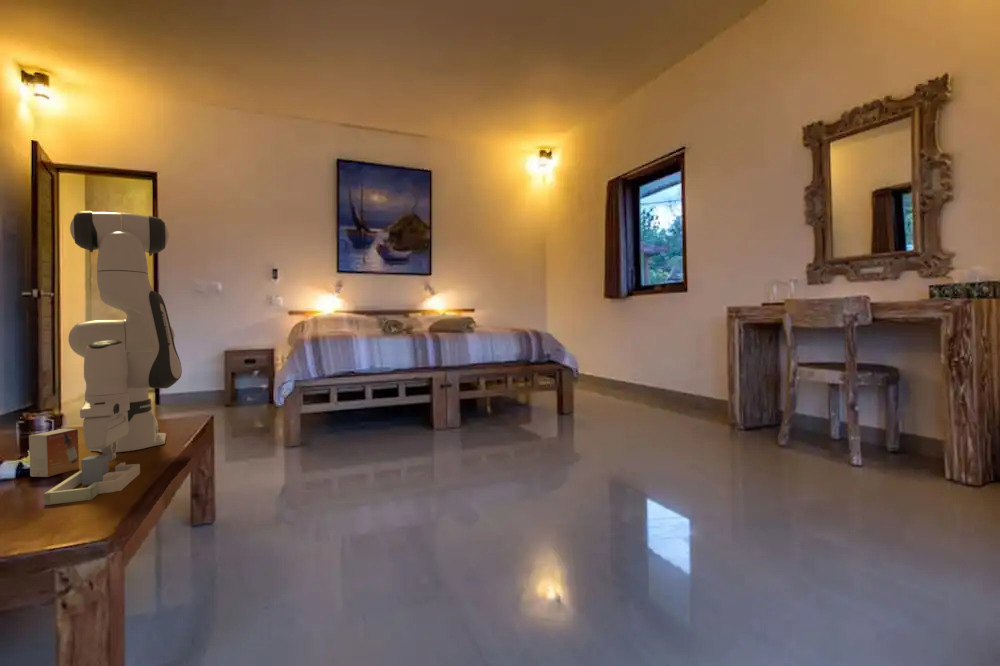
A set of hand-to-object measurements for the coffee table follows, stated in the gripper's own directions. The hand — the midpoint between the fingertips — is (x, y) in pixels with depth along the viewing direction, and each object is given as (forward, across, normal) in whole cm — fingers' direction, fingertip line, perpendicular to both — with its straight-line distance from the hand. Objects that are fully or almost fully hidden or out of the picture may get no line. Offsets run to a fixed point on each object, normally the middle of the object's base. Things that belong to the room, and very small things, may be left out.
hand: (110, 460), depth 128 cm
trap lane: (+4, +10, +1) cm, 11 cm away
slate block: (+4, +6, -1) cm, 7 cm away
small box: (+3, -8, -14) cm, 16 cm away
